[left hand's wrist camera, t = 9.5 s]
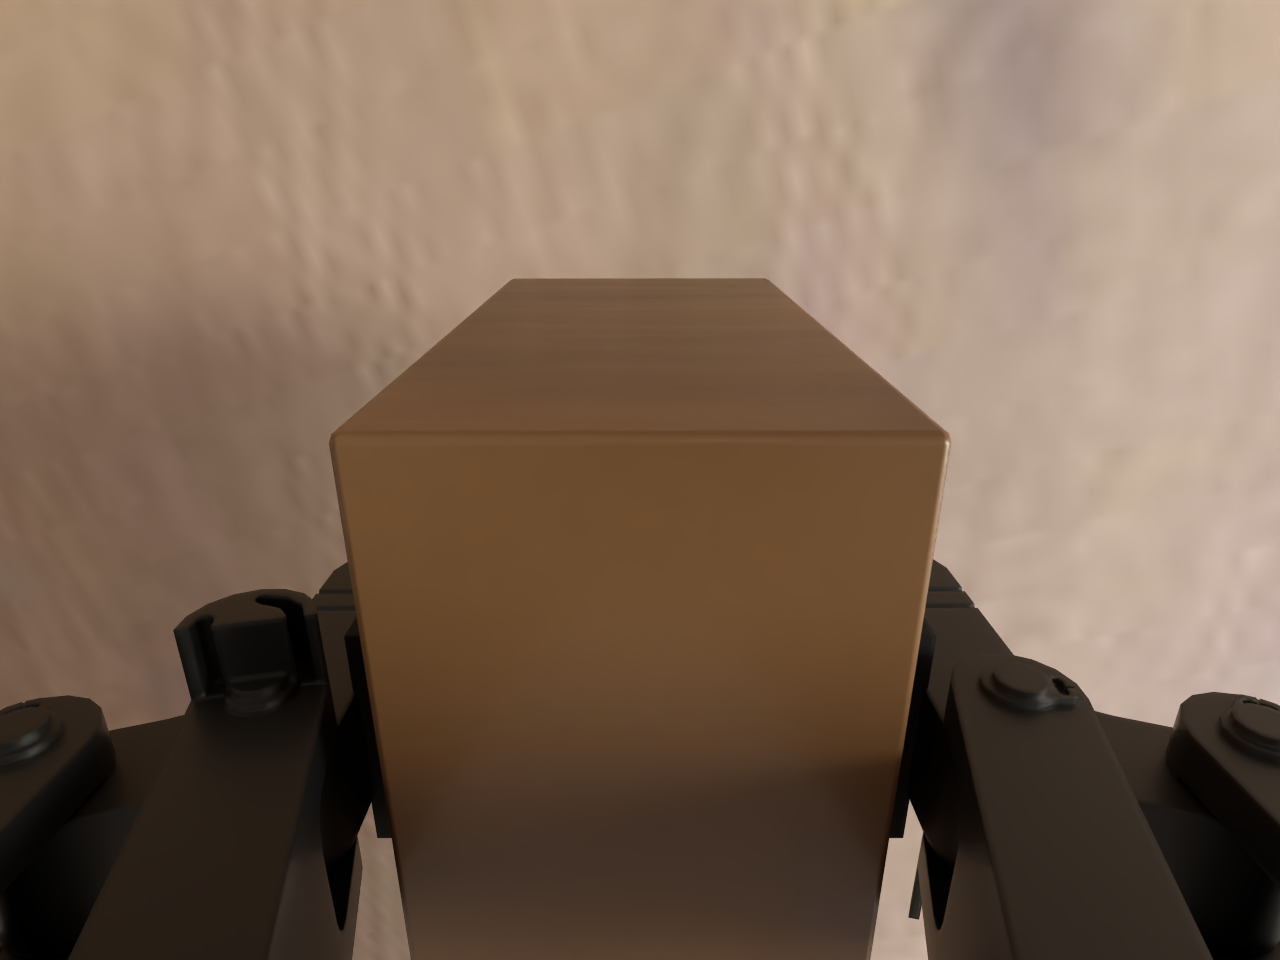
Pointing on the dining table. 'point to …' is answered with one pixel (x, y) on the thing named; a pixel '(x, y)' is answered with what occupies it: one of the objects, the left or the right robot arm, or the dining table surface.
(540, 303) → the post
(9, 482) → the dining table surface
